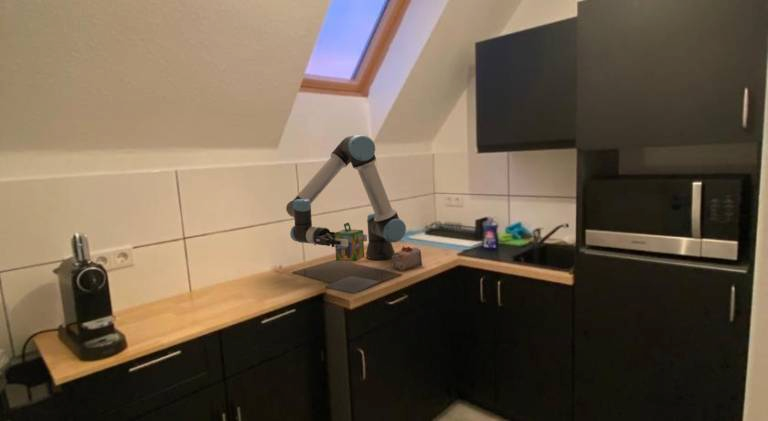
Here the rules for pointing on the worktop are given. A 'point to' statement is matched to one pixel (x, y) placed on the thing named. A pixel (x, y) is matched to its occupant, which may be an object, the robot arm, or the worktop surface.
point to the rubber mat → (352, 284)
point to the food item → (407, 258)
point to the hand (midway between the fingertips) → (357, 240)
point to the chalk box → (350, 244)
